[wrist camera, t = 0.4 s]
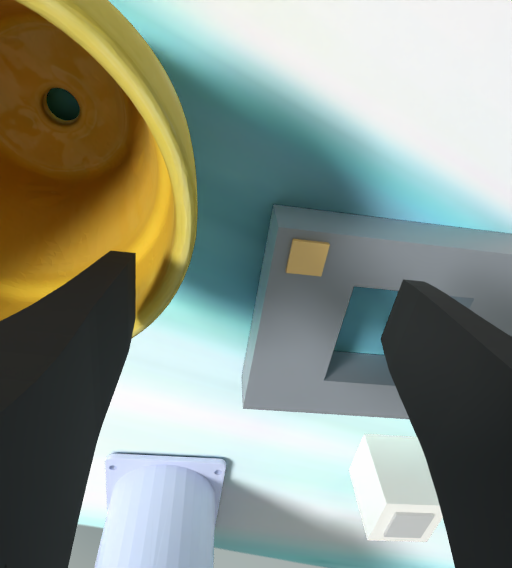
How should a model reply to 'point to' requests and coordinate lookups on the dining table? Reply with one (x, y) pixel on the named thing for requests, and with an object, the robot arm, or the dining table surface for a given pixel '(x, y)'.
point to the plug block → (394, 489)
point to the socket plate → (335, 298)
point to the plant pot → (89, 156)
